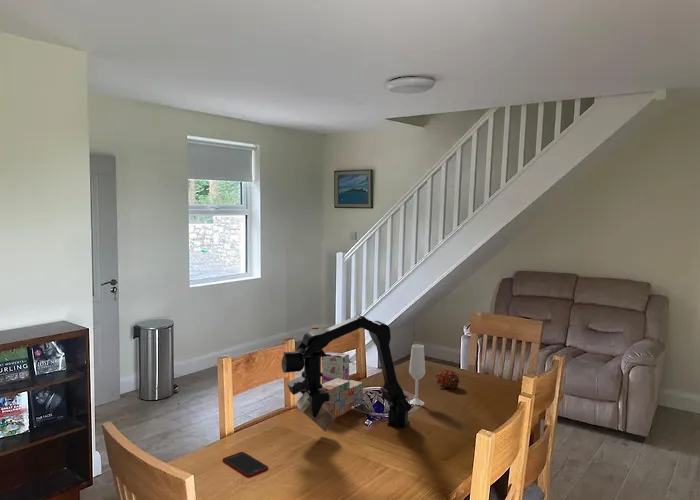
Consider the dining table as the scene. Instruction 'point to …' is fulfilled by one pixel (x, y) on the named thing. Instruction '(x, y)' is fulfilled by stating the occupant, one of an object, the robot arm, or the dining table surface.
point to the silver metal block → (312, 413)
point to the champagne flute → (417, 369)
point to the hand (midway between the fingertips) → (312, 413)
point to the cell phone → (245, 464)
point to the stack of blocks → (342, 395)
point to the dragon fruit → (448, 379)
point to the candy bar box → (335, 367)
